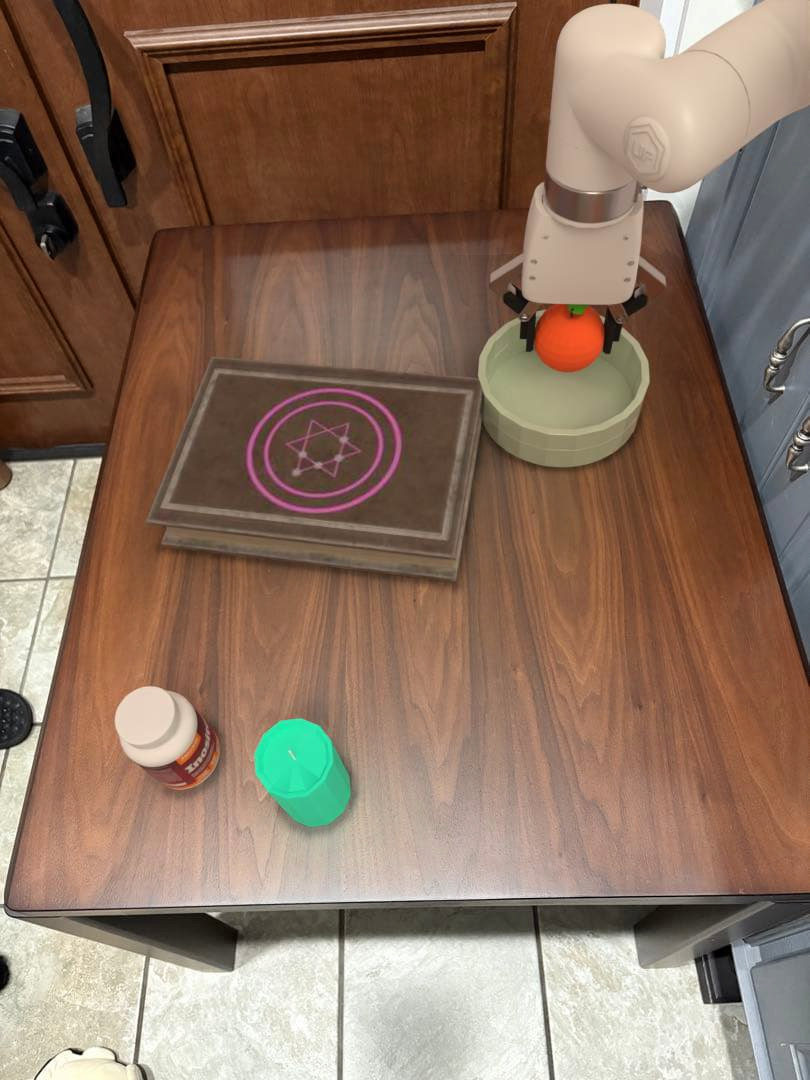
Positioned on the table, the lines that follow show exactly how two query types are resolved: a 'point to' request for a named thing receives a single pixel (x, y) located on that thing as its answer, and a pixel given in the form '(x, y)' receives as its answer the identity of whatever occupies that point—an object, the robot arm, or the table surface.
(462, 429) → the book
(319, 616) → the table surface
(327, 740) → the candle
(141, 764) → the pill bottle
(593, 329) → the clementine
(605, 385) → the bowl
